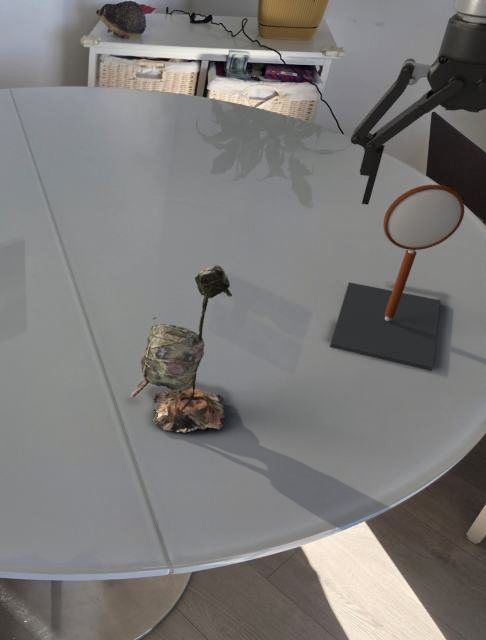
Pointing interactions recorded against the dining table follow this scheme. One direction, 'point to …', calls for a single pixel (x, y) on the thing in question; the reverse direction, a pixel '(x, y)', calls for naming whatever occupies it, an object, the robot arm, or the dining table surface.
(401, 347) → the mat
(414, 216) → the magnifying glass
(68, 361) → the dining table surface
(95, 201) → the dining table surface
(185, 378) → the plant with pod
